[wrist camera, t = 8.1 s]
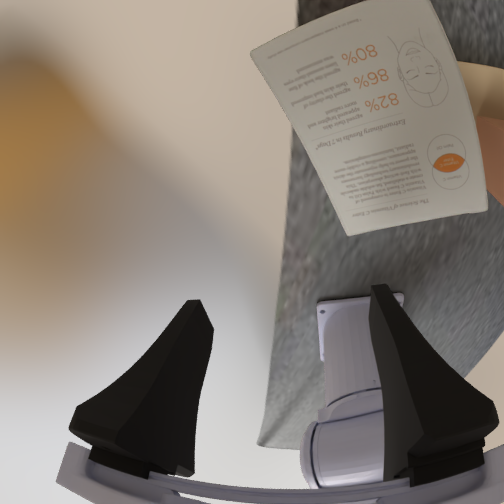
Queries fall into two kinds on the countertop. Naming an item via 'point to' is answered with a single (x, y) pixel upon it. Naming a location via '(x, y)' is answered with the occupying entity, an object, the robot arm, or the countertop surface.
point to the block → (492, 154)
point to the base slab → (484, 89)
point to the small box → (380, 113)
